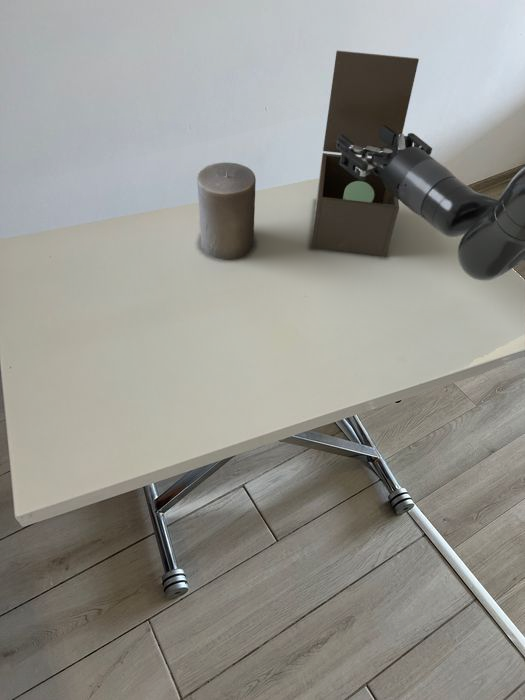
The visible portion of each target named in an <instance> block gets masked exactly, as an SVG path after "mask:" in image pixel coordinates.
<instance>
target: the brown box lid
mask: <svg viewBox="0 0 525 700" xmlns="http://www.w3.org/2000/svg"><path fill="white" fill-rule="evenodd" d="M335 52H336V53H335V59H334V66H333V74H332V81H331V89H330V95H329V104H328V110H327V117H326V125H325V132H324V140H323V147H322V152H325V153H338V154H341V152H340V151H339V150H338V149H337V148H336V145H337V139H338V136H339V135H344V136H345V137H347V138H348V139H349V140H350V141H352V142H353V143H354V145H357V146H361V147H365V146H366V145H369V146H373V147H377V148H380V147H385V146H388V145H387V144H386V143H385V142H384V141H382V140H381V139H380V138H379V131H380V127H381V126H383V125H386V126H387V127H389V128H391V129H392V130H393V131H395V132H396V133H401V134H404V132H403V131H404V127H405V123H406V118H407V115H408V109H409V105H410V100H411V97H412V93H413V87H414V84H415V78H416V73H417V70H418V64H419V62H420V61H419V60H420V58H418V57H409V56H397V55H390V54H389V55H388V54H378V53H377V54H376V53H368V52H365V53H364V52H358V51H348V50H347V51H346V50H336V51H335ZM355 155H357V156H362V154H361V153H358V152H356V154H355ZM368 157H372V153H368Z"/></svg>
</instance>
